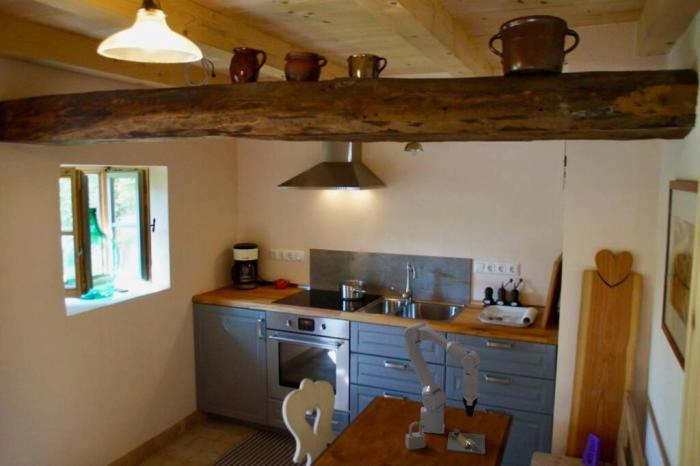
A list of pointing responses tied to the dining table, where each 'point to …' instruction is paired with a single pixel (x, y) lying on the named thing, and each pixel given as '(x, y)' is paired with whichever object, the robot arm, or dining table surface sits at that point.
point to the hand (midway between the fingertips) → (469, 416)
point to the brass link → (460, 439)
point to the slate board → (457, 447)
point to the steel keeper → (471, 444)
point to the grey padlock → (415, 438)
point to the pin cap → (456, 431)
